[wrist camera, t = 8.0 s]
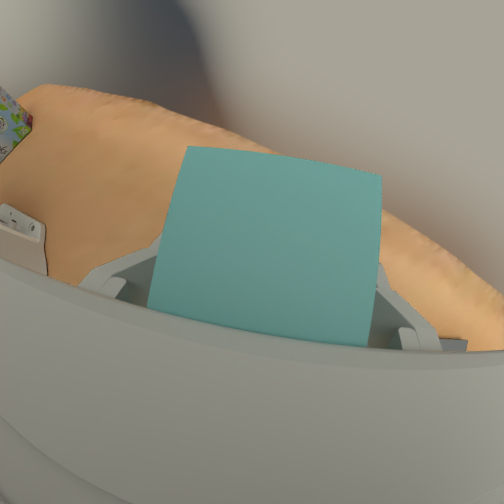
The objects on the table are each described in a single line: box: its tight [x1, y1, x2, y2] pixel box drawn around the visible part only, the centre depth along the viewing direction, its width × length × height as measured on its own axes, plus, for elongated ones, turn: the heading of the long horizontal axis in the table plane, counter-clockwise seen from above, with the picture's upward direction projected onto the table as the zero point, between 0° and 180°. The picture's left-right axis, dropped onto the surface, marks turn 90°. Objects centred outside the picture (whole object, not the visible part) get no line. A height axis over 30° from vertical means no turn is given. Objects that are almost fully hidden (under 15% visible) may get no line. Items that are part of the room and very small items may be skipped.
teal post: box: [147, 146, 382, 347], centre depth 11 cm, size 5×5×10 cm
